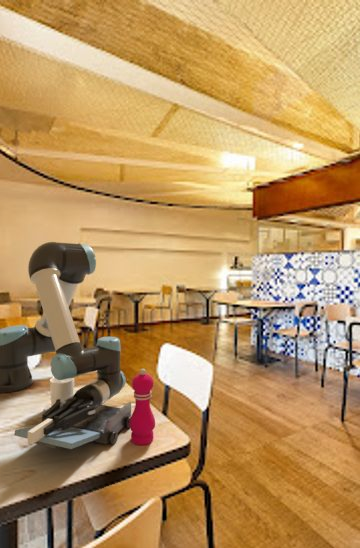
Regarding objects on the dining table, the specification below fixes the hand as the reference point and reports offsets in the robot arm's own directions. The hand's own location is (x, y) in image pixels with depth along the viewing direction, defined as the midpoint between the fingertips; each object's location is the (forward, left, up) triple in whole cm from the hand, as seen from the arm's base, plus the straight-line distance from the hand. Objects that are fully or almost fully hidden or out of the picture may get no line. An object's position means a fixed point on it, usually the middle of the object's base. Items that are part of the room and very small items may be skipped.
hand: (30, 437), depth 71 cm
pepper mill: (+13, +26, -9) cm, 30 cm away
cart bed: (-4, +23, -9) cm, 25 cm away
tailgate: (-3, +15, -6) cm, 16 cm away
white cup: (-22, +28, -9) cm, 37 cm away
